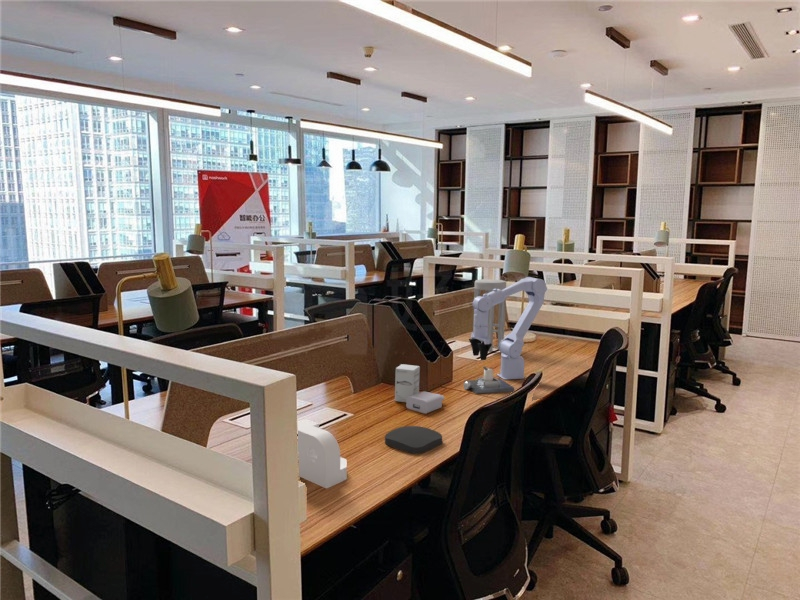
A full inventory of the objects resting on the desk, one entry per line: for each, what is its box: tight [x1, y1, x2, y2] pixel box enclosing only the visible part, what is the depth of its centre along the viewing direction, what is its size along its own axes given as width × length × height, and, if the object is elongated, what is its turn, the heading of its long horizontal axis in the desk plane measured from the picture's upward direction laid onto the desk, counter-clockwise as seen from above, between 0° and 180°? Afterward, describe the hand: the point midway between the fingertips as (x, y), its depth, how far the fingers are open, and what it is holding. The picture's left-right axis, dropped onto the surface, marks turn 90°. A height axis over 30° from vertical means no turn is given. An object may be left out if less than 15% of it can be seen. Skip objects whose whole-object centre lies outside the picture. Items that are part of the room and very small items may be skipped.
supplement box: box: [394, 363, 421, 403], centre depth 221 cm, size 7×7×13 cm
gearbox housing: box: [463, 376, 515, 395], centre depth 238 cm, size 18×13×4 cm
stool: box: [472, 278, 507, 353], centre depth 306 cm, size 16×16×35 cm
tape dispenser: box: [298, 418, 348, 490], centre depth 158 cm, size 16×10×13 cm, turn 50°
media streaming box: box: [384, 425, 443, 455], centre depth 181 cm, size 15×15×3 cm
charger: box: [405, 391, 445, 414], centre depth 215 cm, size 5×9×15 cm
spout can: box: [482, 365, 494, 382], centre depth 238 cm, size 4×4×9 cm
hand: (479, 357), depth 249 cm, fingers open, 7 cm apart
